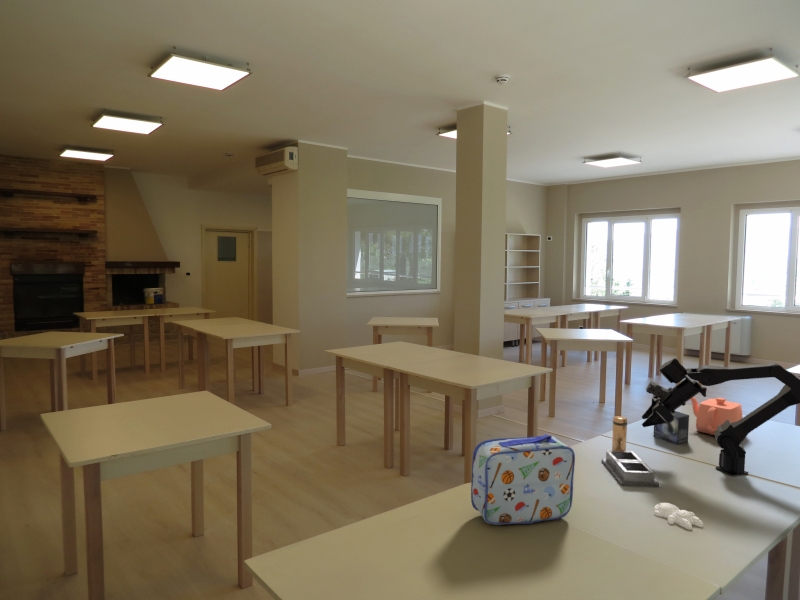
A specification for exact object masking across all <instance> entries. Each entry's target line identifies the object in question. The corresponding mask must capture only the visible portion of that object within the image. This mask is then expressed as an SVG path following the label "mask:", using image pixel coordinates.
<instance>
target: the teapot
mask: <svg viewBox="0 0 800 600" xmlns="http://www.w3.org/2000/svg"><path fill="white" fill-rule="evenodd" d="M689 401H690V402H691V405H692V411H693V414H694V416H695V417H696V419H695V427H696V431H697V432H700V433H704V434H708V435H712V436H715V431H716V430H717V429H718V427H717V426H719V425H722V424H723V423H724V422H725V421H726V420H729V421H730V423H733V422H737V421H739V420H740V419H742V418H743V417H744V416H743V408H742V407H743V406H742V404H741V403H739V402H734V401H733V402H732V401H729V400H726V398H724V397H715V398H708V399H706V400H704V401H701V402H700V403H698V401H697V399H696V398H695V396H694V397H692V398H691V399H690V400H689Z"/></svg>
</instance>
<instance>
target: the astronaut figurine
mask: <svg viewBox="0 0 800 600" xmlns="http://www.w3.org/2000/svg"><path fill="white" fill-rule="evenodd" d="M653 515H655V516H657V517H662V518H665V519H667V523H669V525H674V524H677V525H679V526H680V527H682V528H685V529H687V530H690V531H691V530H692V529H693V526H696V527H700V528H703V527H704V522H703V521H702V520H701V519H700V518H699V517H698V516H696V515H695V513H694V512H692V511H688V510H686V509H680V508H679V507H678V506H677V505H675V504H672V503H669V502H660V503H657V504H656V505H655V506H654V507H653ZM692 525H693V526H692Z"/></svg>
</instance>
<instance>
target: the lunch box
mask: <svg viewBox="0 0 800 600" xmlns="http://www.w3.org/2000/svg"><path fill="white" fill-rule="evenodd" d="M471 463H472V464H471V465H472V466H471V485H470V486H471V487H470V491H471V493H470V499H471V500H470V501H471V505H472V507H473V508H474V509H475V510H476V511H478V512H479V514H480V515H481V517H482V518H483V520H484V521H485V523H487V524H489V525H513V524H515V525H516V524H527V525H529V524H534V523H537V522H544V521H552V520H558V519H562V518H564V517H566V516H567V515H568V514H569V512H570V510H571V508H572V506H573V505H572V504H573V496H574V481H575V480H574V476H575V465H576V464H575V463H576V454H575V451H574V449H573V447H571V446H569V445H567V444H565V443H563V442H562V441H560V440H559V438H557V437H556V436H554V435H549V434H543V435H537V436H528V437H527V436H526V437H524V436H523V437H505V438H504V437H503V438H493V439H487V440H484V441H481V442H480V443H478V444H477V445H476V447H475V448H474V450H473V453H472V462H471Z"/></svg>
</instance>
